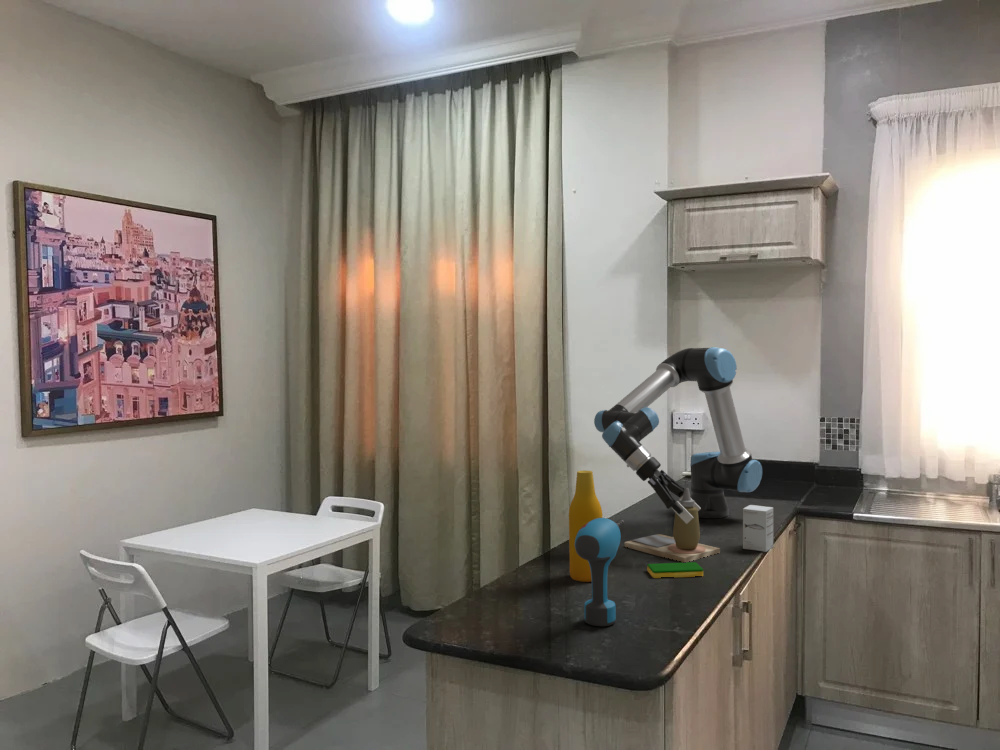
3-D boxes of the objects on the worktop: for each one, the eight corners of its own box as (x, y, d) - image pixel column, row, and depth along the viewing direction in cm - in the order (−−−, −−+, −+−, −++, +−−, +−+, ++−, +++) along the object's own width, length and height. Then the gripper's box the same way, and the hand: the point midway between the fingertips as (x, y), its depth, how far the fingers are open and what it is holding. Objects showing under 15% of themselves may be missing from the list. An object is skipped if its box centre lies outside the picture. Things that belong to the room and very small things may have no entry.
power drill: (606, 595, 192) (605, 503, 192) (640, 599, 189) (639, 506, 188) (567, 633, 167) (565, 528, 166) (605, 639, 163) (603, 531, 163)
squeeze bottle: (701, 545, 232) (701, 486, 232) (699, 552, 225) (699, 491, 224) (674, 543, 235) (674, 485, 234) (671, 549, 227) (671, 489, 227)
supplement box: (742, 549, 234) (741, 508, 233) (750, 544, 240) (750, 504, 239) (766, 552, 229) (766, 511, 229) (774, 547, 235) (773, 506, 235)
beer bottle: (610, 578, 207) (608, 471, 206) (583, 584, 202) (581, 475, 201) (589, 570, 215) (587, 467, 214) (562, 576, 210) (560, 471, 209)
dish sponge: (647, 572, 213) (647, 563, 213) (695, 570, 214) (695, 561, 214) (653, 579, 206) (653, 571, 206) (703, 578, 207) (703, 569, 207)
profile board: (659, 538, 249) (659, 533, 249) (719, 553, 230) (719, 547, 229) (624, 546, 239) (624, 541, 239) (684, 562, 220) (684, 556, 220)
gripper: (644, 466, 246) (692, 515, 241) (625, 478, 224) (677, 533, 218) (660, 450, 244) (709, 499, 239) (642, 461, 221) (696, 516, 216)
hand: (694, 516), depth 228 cm, fingers open, 13 cm apart
